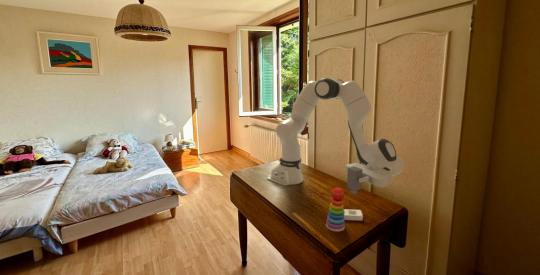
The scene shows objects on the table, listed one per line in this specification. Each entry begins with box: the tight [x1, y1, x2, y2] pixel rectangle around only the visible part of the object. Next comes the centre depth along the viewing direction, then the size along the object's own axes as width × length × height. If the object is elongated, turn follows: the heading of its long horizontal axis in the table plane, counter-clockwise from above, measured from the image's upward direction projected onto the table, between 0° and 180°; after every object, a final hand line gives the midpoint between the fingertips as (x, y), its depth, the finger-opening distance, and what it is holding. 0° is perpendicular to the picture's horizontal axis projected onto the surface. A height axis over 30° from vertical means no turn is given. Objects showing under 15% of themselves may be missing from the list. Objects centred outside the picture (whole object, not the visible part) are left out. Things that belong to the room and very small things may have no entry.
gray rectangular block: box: [346, 166, 363, 195], centre depth 109 cm, size 4×4×11 cm
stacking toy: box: [325, 187, 346, 232], centre depth 106 cm, size 8×8×19 cm
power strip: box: [344, 208, 364, 221], centre depth 114 cm, size 11×5×4 cm, turn 83°
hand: (353, 177), depth 109 cm, fingers closed on gray rectangular block, 4 cm apart
